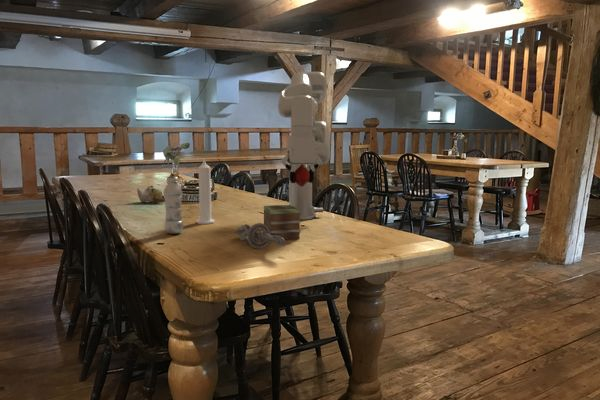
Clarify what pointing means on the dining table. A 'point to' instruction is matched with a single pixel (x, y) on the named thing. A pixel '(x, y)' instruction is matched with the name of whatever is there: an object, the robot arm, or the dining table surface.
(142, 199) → the ceramic sculpture
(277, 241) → the spaceship
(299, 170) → the onion
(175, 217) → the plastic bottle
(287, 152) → the robot arm
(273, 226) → the green shadow box
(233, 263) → the dining table surface
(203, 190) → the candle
